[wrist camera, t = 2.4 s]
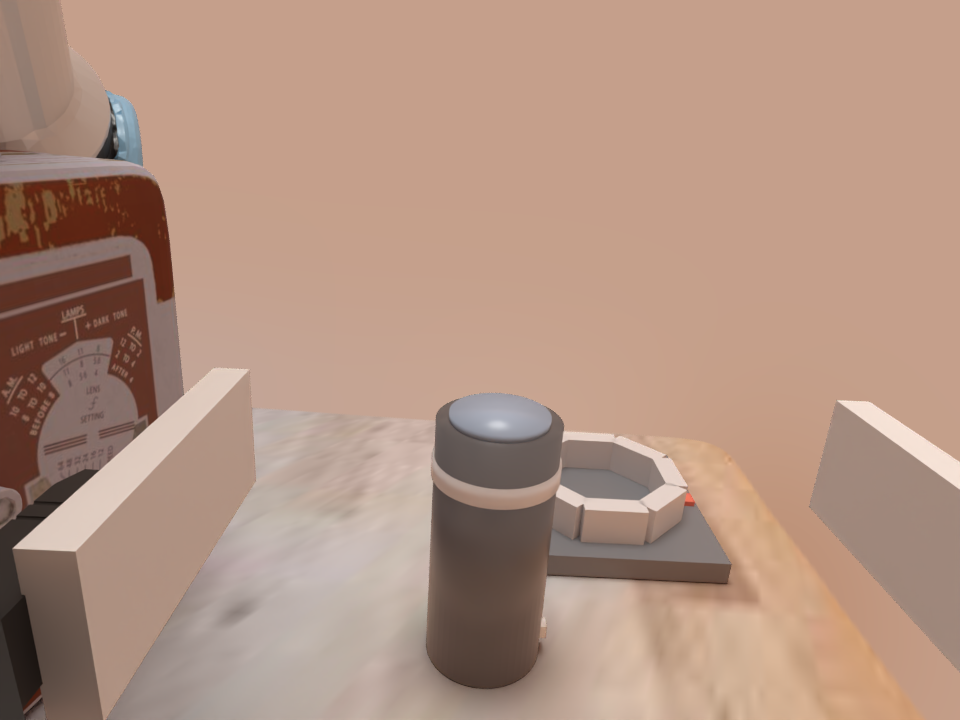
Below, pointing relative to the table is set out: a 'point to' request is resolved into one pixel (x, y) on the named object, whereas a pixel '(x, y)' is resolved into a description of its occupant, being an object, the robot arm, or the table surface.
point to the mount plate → (628, 516)
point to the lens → (491, 536)
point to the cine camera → (80, 318)
